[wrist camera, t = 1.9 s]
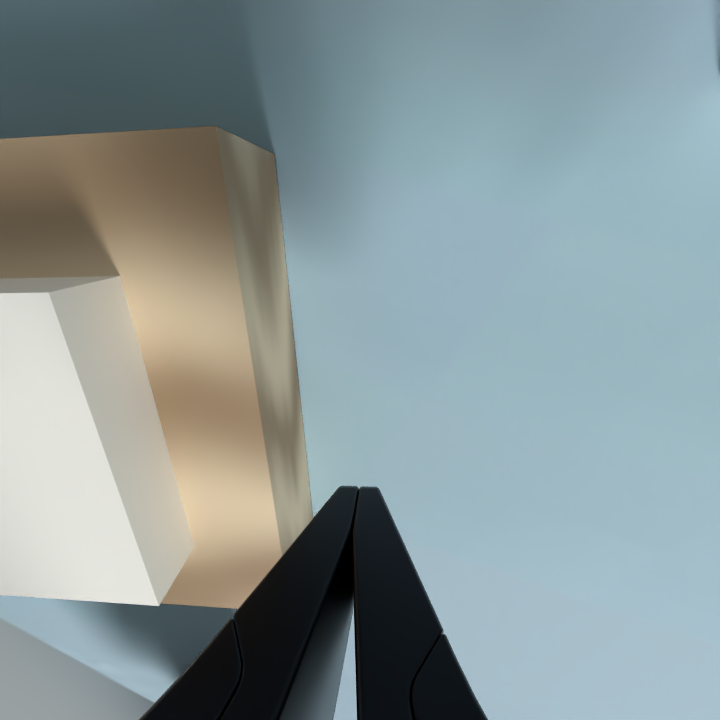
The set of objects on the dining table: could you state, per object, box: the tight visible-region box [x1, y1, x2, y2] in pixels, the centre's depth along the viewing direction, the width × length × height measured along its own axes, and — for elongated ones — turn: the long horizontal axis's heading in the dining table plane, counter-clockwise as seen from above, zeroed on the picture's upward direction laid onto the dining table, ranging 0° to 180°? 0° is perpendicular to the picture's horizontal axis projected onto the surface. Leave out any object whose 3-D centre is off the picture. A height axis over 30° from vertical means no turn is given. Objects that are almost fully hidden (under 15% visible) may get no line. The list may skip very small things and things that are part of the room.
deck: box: [0, 126, 313, 609], centre depth 13 cm, size 15×14×4 cm
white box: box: [0, 276, 194, 606], centre depth 10 cm, size 9×6×2 cm, turn 2°
